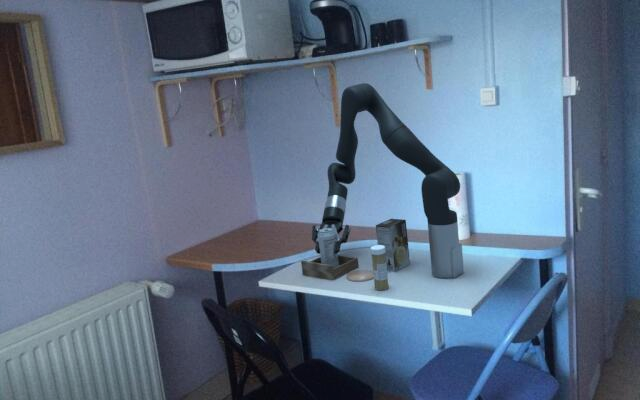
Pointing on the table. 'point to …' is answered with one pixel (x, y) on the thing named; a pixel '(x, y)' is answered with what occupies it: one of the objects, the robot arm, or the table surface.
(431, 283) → the table surface
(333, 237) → the energy drink can
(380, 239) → the coffee box
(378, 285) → the sprinkles bottle
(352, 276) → the terracotta saucer
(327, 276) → the brown square open frame
